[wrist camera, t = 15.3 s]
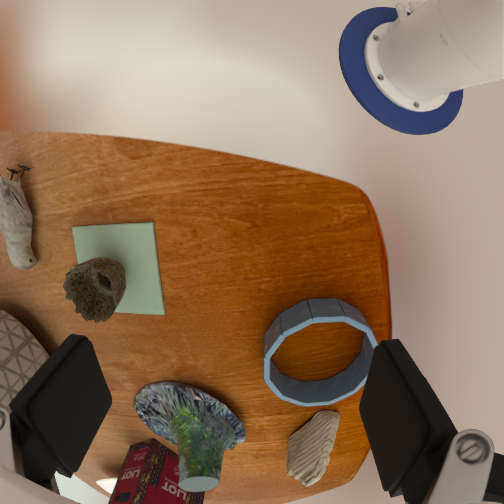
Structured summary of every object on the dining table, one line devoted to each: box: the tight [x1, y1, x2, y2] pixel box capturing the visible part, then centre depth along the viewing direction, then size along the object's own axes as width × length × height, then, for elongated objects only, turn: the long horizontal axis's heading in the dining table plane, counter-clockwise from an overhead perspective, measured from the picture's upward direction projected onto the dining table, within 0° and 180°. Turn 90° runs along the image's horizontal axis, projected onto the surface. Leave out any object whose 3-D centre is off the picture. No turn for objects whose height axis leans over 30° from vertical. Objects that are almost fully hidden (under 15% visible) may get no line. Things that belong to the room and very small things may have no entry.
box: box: [108, 438, 205, 504], centre depth 43 cm, size 16×9×20 cm, turn 38°
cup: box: [63, 257, 126, 323], centre depth 34 cm, size 8×7×8 cm
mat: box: [72, 222, 166, 315], centre depth 38 cm, size 13×13×1 cm
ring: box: [264, 298, 378, 407], centre depth 39 cm, size 16×16×5 cm
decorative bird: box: [0, 164, 38, 269], centre depth 33 cm, size 5×16×8 cm, turn 2°
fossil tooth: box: [286, 410, 340, 487], centre depth 42 cm, size 12×6×15 cm
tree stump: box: [133, 381, 246, 492], centre depth 40 cm, size 18×20×18 cm
